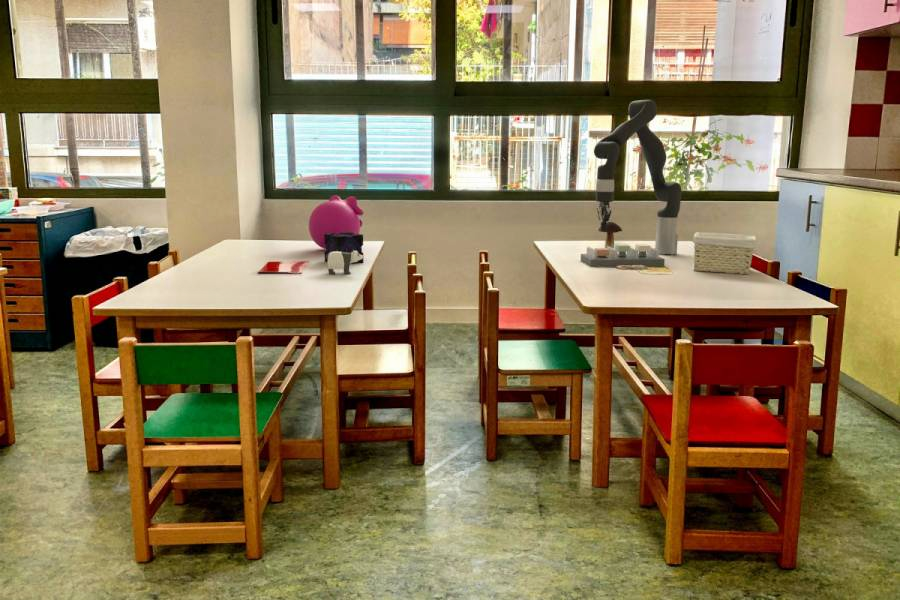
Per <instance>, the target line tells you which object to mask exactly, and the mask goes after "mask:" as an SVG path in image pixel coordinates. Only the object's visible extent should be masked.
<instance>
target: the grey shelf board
mask: <svg viewBox="0 0 900 600" xmlns="http://www.w3.org/2000/svg"><path fill="white" fill-rule="evenodd" d="M607 249H609V256H605V257H598V255H597V250H595V248H593V247H591V246H587V247H586V253H580V261H581V262H582V263H584V264H586V265H587V266H589V267H593V268H594V267H595V268H599V267H600V268H601V267H605V268H606V267H607V268H608V267H609V268H610V267H615V268H616V266H619V265H629V266H632V265H642V266H646V267H665V262H666V261H665V258H662V257H660V256H659V255H660V254H659V250H657V249H655V248H654V247H652V246H651V249H650V252H646V256H639V251H638V250H636V249H635V247H631V246H630V252H626V256H619V252H618V250H616V249H615V247H614V248H611V247H607Z"/></svg>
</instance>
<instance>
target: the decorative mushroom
mask: <svg viewBox="0 0 900 600" xmlns="http://www.w3.org/2000/svg"><path fill="white" fill-rule="evenodd" d="M606 223H607V227H606V231H601V230H600V227H599V228H598V230H597V231H598V232H600V233H601V232H602V233H606V236H605V243H604V248H607V247H611V248H614V249H615V238H614V236H615V235H614V234H615V233H619V232H623V229H622V227H621V226H619V224H617V223H616V222H613V221H607V222H606Z"/></svg>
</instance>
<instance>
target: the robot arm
mask: <svg viewBox="0 0 900 600" xmlns="http://www.w3.org/2000/svg"><path fill="white" fill-rule="evenodd" d="M627 112H628V117H629V119H627V120H626V121H624V122H623V123H621V124H619V125H618V126H617V127H616V128H615V129H614V130H613V131H612V132H611V133H610V134H609V135H607V136H605V137H604V138H601V139H600V140H599V141H598V142H597V143H596V144H595V146H594V148H593V154H594V156H595V157H596V158H597V159H599V160H606V161H605V164H601V165H598V167H597V175H596V177H597V178H596V186H595V201H596V202H597V203H598V202H599V205H598V207H597V209H596V211H597V217H598V220H599V222H600V227H599V228H600V230H601V231H606V227H607V222H610V218H611V216H612V215H611V214H612V210H611V206H610V203H612V202H614V199H615V169H616V165H617V162H618V159H619V156H620V151H621V149H620V148H622V147H623V146H624V145H625V144H626V143H627V142H628V140H629V139H630V138H631V137H632V136H633V135H634V134H635V133H636V135H637V137H638V142H639V143H640V146H641V149H642V154H643V155H644V159H645V163H646V165H647V168H648V170H649V171H648V172H649V175H650V178H651V182H652V188H653V193H654V195H655V198H656V199H657V201H659V202H664V203H666V205H665V207H663V208H662V209H659V210H658V211H657V217H656V229H655V231H656V232H655V243H654V245H655V246H654V247H655V248H654V249H657V250H659V255H665V254H671V255H677V254H678V253H677V252H678V244H679V241H678V239H679V233H677V230H678V217H679V212H680V210H681V209H680V208H681V203H682V202H681V200H682V193H683V192H682V191H683V190H682V186H681V184H680V183H678V182H674V181H666V179H665V176H664V167H665V164H666V161H667V152H666V149H665V146H664V143H663V141H662V140H661V138H659V137H658V136H657V135H656V134H655V133H654V132H653V131H652V130H651V129H650V128H649V126H648V124H649V123H650V122H652V121H653V120H654V119H655V118H656V117H657V113H658V106H657V103H656V102H655V101H654V100H652V99H641V100H634V101H631V102H630V103H629V105H628V111H627Z"/></svg>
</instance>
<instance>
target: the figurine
mask: <svg viewBox="0 0 900 600" xmlns="http://www.w3.org/2000/svg"><path fill="white" fill-rule="evenodd" d="M363 215H364V211H363V210H362V208H360V206H358V201H357V198H356V196H352V195H351V196H348V197H346V198H345V199H341V197H340V196H339V195H336V194H335V195H332V196H331V197H330V198H329V200H328V201H325V202H323V203H320V204H319V205H317V206H316V207H315V208H314V209H313V210H312V212H311V213H310V217H309V220H308V232H309V235H310V237H311V239H312V241H313V242H314V243H315V244H316V245H317V246H318V247H319V248H321V249H324V250H326V245H325V244H324V234H326V233H335V234H340V233H341V232H352V233H354V234H360V232H361V227H362V226H363V221H362V220H361V219H360V218H359V216H363Z"/></svg>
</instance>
